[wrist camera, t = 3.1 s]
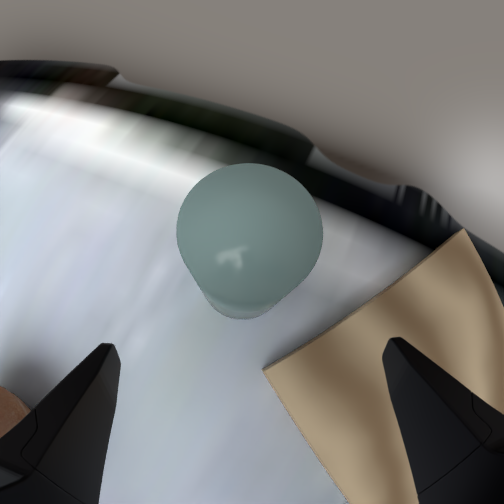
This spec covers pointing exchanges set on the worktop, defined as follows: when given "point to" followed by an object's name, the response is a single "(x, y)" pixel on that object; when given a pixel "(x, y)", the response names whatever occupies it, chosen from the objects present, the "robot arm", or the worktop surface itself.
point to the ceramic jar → (248, 237)
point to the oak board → (373, 375)
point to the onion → (10, 410)
